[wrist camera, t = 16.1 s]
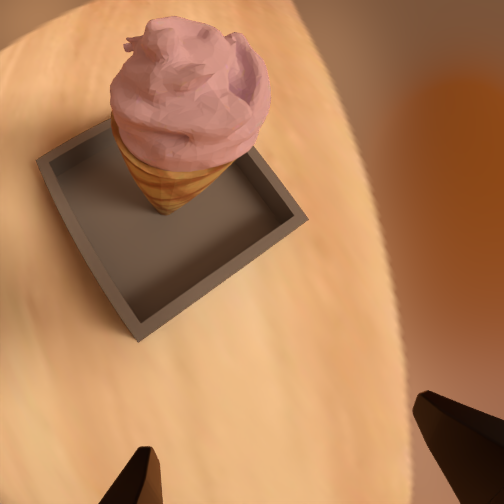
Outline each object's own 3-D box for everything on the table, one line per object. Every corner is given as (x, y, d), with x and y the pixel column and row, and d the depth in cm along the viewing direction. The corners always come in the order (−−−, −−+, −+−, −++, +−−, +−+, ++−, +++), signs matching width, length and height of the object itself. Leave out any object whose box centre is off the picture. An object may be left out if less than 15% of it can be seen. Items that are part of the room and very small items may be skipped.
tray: (139, 341, 19) (138, 342, 16) (44, 176, 19) (35, 160, 17) (293, 230, 24) (308, 219, 22) (194, 100, 24) (200, 81, 22)
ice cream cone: (105, 185, 20) (79, -2, 6) (178, 148, 23) (228, -29, 9) (151, 264, 20) (159, 117, 6) (226, 219, 22) (337, 65, 9)
